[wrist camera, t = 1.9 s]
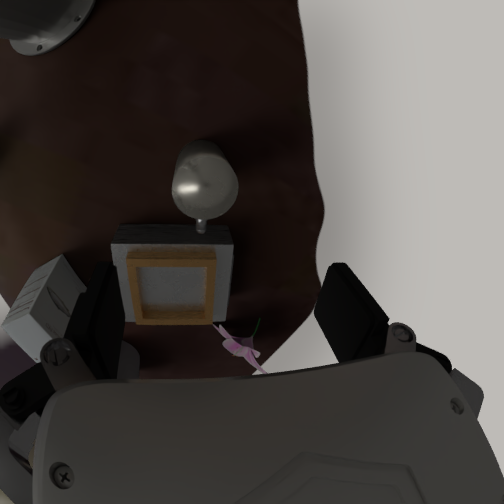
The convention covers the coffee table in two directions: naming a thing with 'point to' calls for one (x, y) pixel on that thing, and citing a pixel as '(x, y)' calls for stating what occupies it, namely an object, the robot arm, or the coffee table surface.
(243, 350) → the lily
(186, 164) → the spout can
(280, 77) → the coffee table surface
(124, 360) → the coffee mug
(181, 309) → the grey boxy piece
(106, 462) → the robot arm
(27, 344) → the supplement box
